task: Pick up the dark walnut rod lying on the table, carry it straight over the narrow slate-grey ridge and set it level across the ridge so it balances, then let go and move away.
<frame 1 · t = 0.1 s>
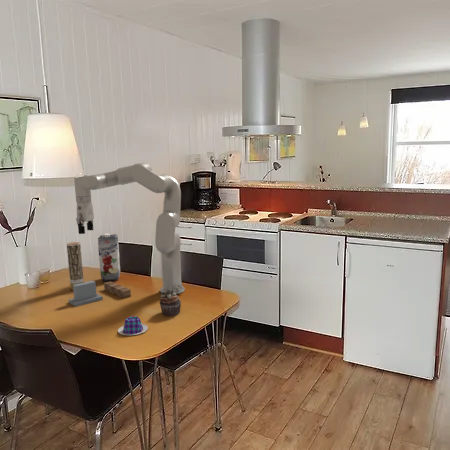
hand: (86, 231, 226), 31 cm above the table, tool pointing down, fingers open, 9 cm apart
juice carton: (111, 279, 248), on the table
rod: (117, 293, 223), on the table
ridge: (85, 301, 212), on the table
paper tube: (77, 289, 232), on the table
cupcake: (171, 313, 194), on the table
pudding: (133, 331, 176), on the table
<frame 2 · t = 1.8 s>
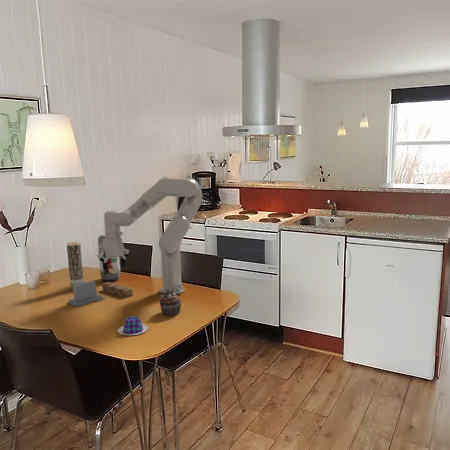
hand: (114, 268, 221), 13 cm above the table, tool pointing down, fingers open, 9 cm apart
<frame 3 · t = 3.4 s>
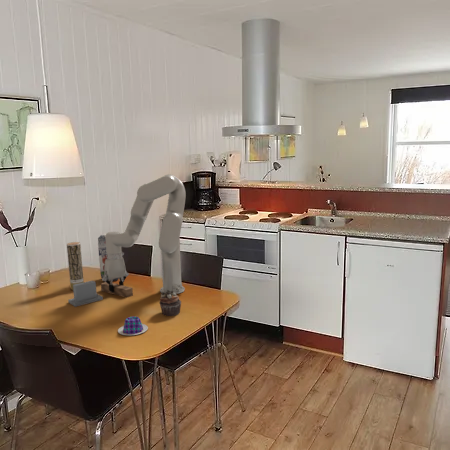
hand: (116, 290, 223), 2 cm above the table, tool pointing down, fingers closed on rod, 4 cm apart
rod: (116, 293, 223), on the table, touching gripper
everything else where it was.
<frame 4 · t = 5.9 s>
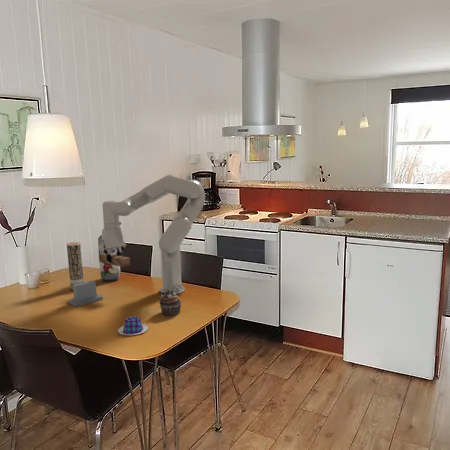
hand: (114, 260, 220), 17 cm above the table, tool pointing down, fingers closed on rod, 4 cm apart
rod: (114, 263, 220), point 16 cm above the table, touching gripper
everything else where it was.
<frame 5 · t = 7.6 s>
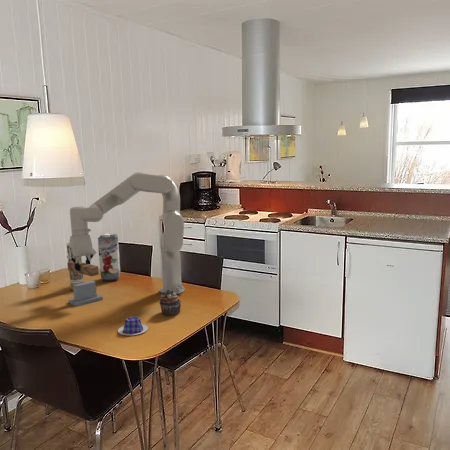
hand: (82, 269, 210), 16 cm above the table, tool pointing down, fingers closed on rod, 4 cm apart
rod: (83, 272, 210), point 15 cm above the table, touching gripper
everything else where it was.
when the fingers open (12 cm above the table, at t = 8.8 s): rod drops 1 cm, resting on ridge.
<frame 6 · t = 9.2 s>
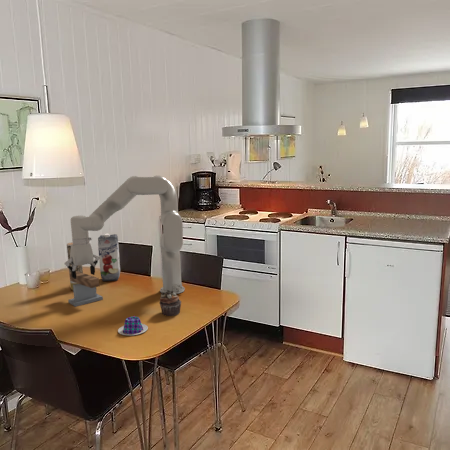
hand: (83, 276, 210), 13 cm above the table, tool pointing down, fingers open, 8 cm apart
rod: (84, 283, 211), point 9 cm above the table, touching ridge
everything else where it was.
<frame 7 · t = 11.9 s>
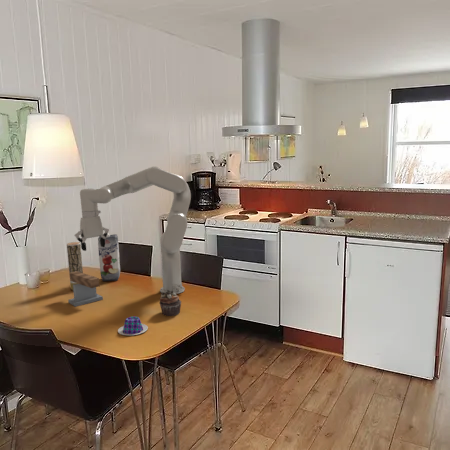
hand: (93, 248, 213), 25 cm above the table, tool pointing down, fingers open, 9 cm apart
nothing on the table moved.
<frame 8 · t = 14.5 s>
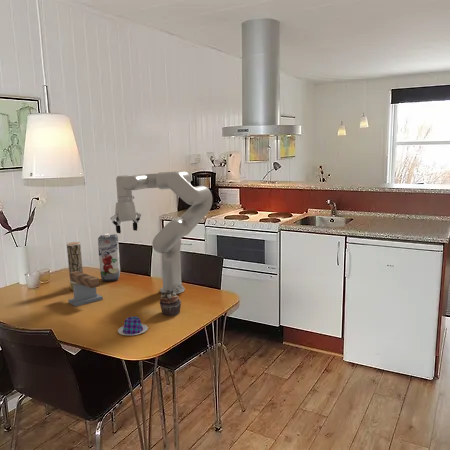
hand: (127, 231, 228), 30 cm above the table, tool pointing down, fingers open, 9 cm apart
nothing on the table moved.
at the end: rod 0.1 cm off-centre on the ridge, point 9.0 cm above the ridge's base; rod tilted 0°; the gripper is holding nothing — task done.
